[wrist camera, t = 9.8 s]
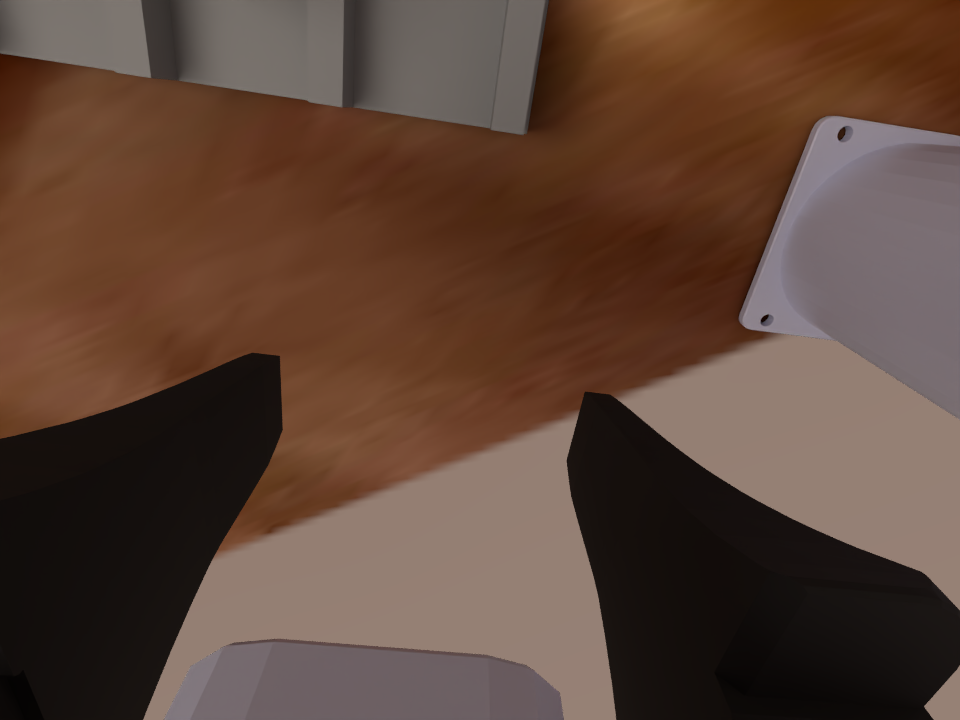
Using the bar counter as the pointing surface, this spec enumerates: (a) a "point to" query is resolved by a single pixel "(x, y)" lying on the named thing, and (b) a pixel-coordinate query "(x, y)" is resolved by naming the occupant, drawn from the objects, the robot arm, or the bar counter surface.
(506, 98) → the drying rack
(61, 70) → the bar counter surface
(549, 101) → the bar counter surface
